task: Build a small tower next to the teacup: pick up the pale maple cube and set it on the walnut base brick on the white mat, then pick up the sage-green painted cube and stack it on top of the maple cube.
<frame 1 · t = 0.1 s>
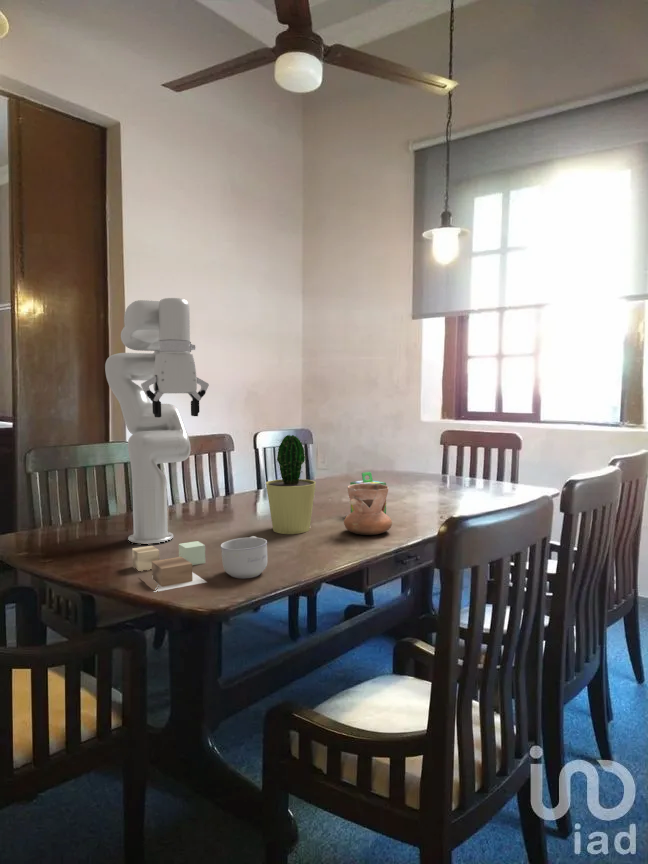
hand: (176, 416, 155), 37 cm above the table, tool pointing down, fingers open, 9 cm apart
teacup: (247, 574, 145), on the table
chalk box: (368, 515, 211), on the table
white mat: (172, 581, 139), on the table
ceramic jug: (368, 532, 186), on the table
potted cactus: (291, 530, 190), on the table
walnut base brick: (172, 579, 139), resting on white mat
maple block: (146, 569, 149), on the table
sage block: (192, 564, 153), on the table
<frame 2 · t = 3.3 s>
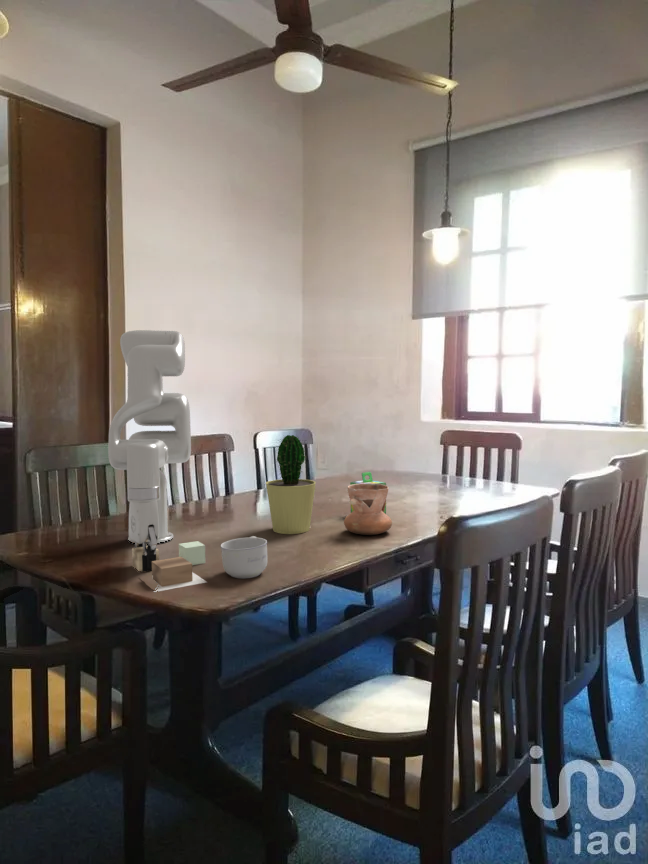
hand: (145, 567, 149), 0 cm above the table, tool pointing down, fingers closed on maple block, 5 cm apart
maple block: (145, 569, 149), on the table, touching gripper
everything else where it was.
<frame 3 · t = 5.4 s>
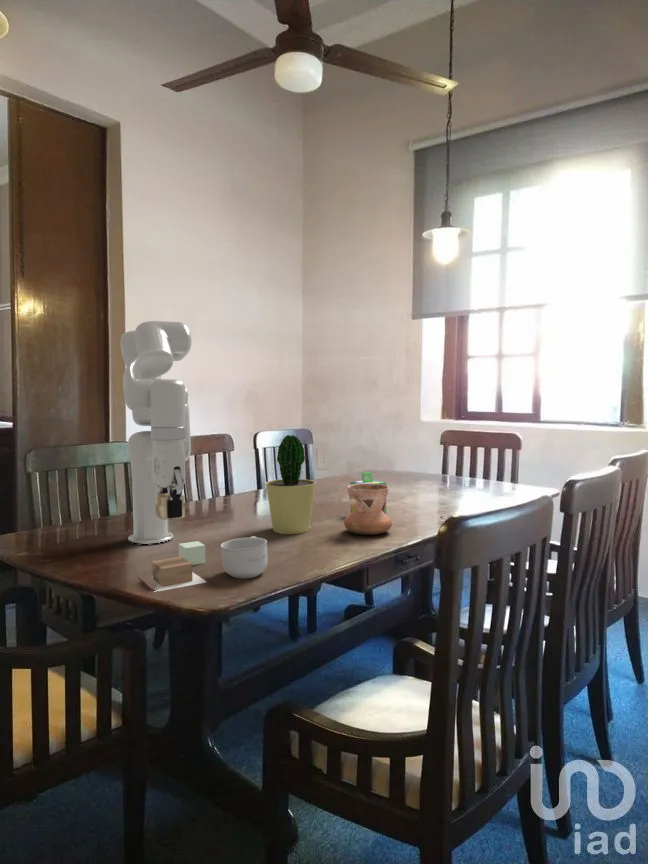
hand: (170, 514, 138), 15 cm above the table, tool pointing down, fingers closed on maple block, 5 cm apart
maple block: (170, 516, 138), point 15 cm above the table, touching gripper
everything else where it was.
when the fingers open (6 cm above the table, at t = 7.5 s): maple block stays where it is, resting on walnut base brick.
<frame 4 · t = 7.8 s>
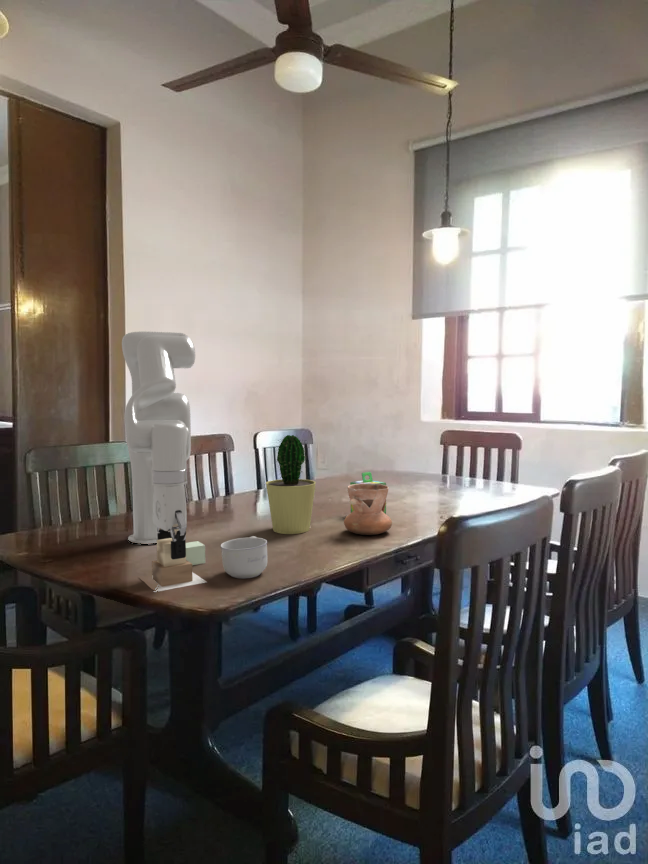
hand: (171, 553, 139), 6 cm above the table, tool pointing down, fingers open, 8 cm apart
walnut base brick: (172, 579, 139), resting on white mat, touching maple block
maple block: (171, 562, 139), point 4 cm above the table, touching walnut base brick
everything else where it was.
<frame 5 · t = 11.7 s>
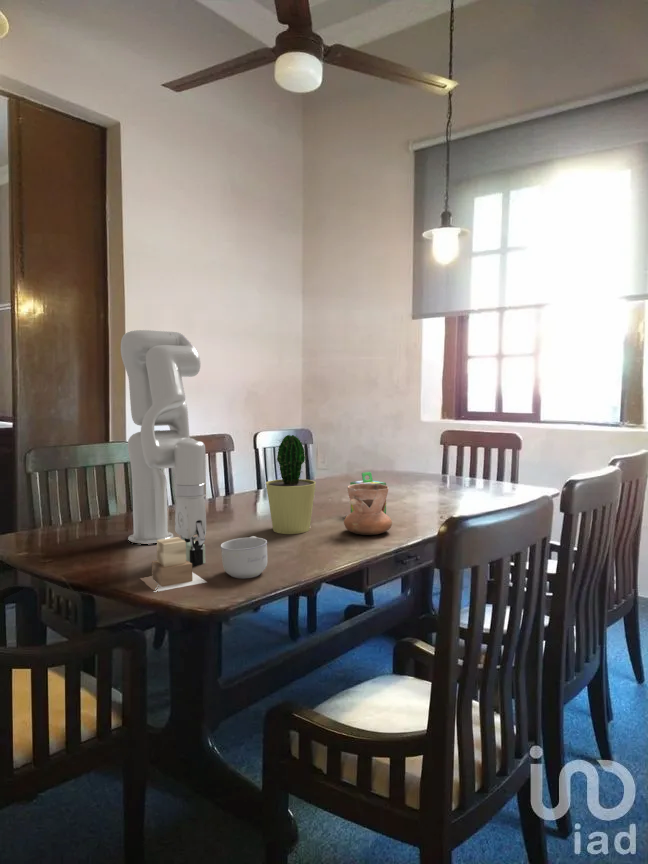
hand: (192, 561, 153), 0 cm above the table, tool pointing down, fingers closed on sage block, 5 cm apart
sage block: (192, 563, 153), on the table, touching gripper
everything else where it was.
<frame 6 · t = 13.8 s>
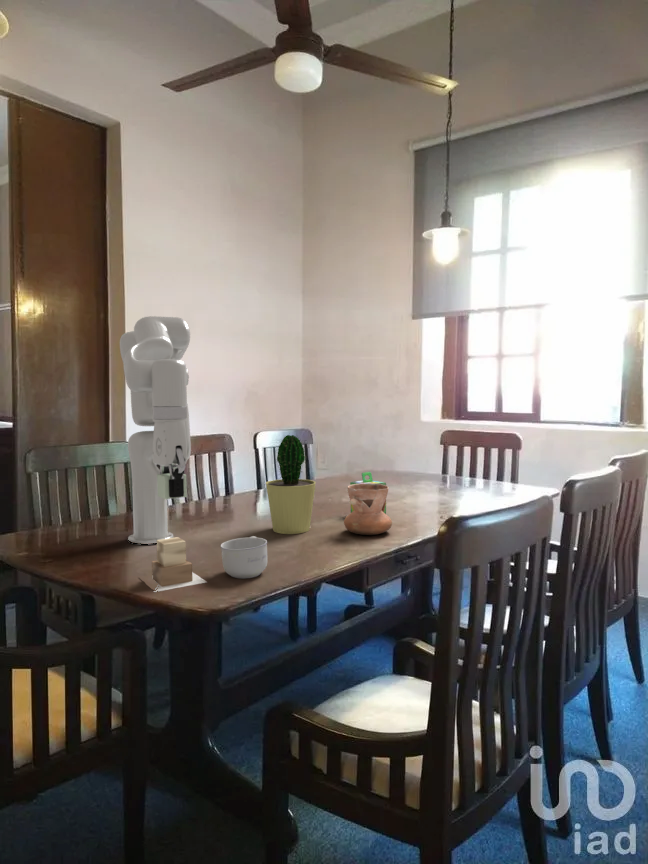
hand: (172, 494, 139), 20 cm above the table, tool pointing down, fingers closed on sage block, 5 cm apart
sage block: (172, 496, 139), point 19 cm above the table, touching gripper
everything else where it was.
when the fingers open (11 cm above the table, at t = 15.9 s): sage block stays where it is, resting on maple block.
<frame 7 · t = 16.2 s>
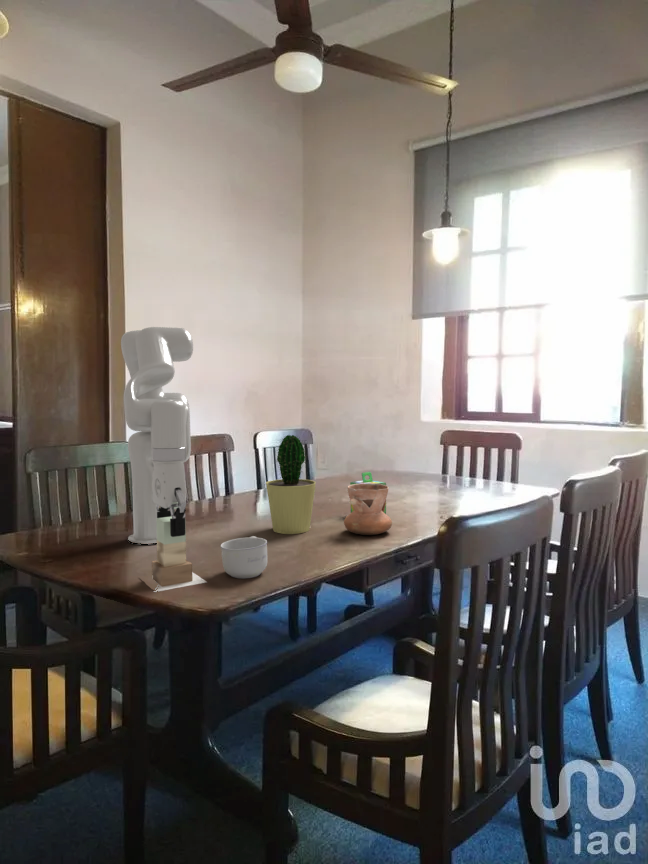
hand: (171, 531, 138), 11 cm above the table, tool pointing down, fingers open, 8 cm apart
maple block: (171, 562, 139), point 4 cm above the table, touching sage block, walnut base brick
sage block: (171, 540, 139), point 9 cm above the table, touching maple block
everything else where it was.
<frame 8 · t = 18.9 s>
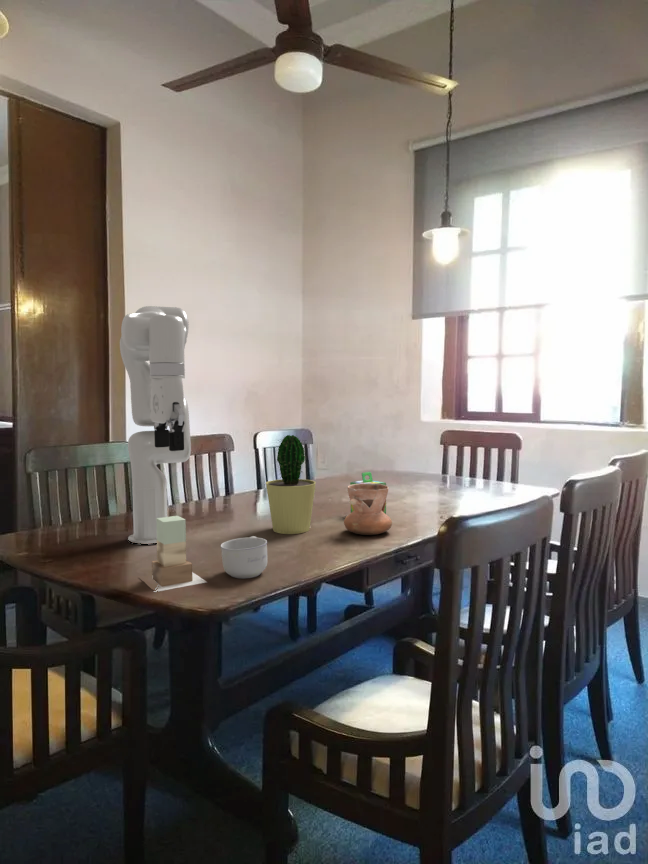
hand: (169, 448, 137), 30 cm above the table, tool pointing down, fingers open, 9 cm apart
nothing on the table moved.
at the end: maple block 0.1 cm off-centre on the walnut base brick, point 4.0 cm above the walnut base brick's base; sage block 0.1 cm off-centre on the maple block, point 5.0 cm above the maple block's base; sage block tilted 0° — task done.
